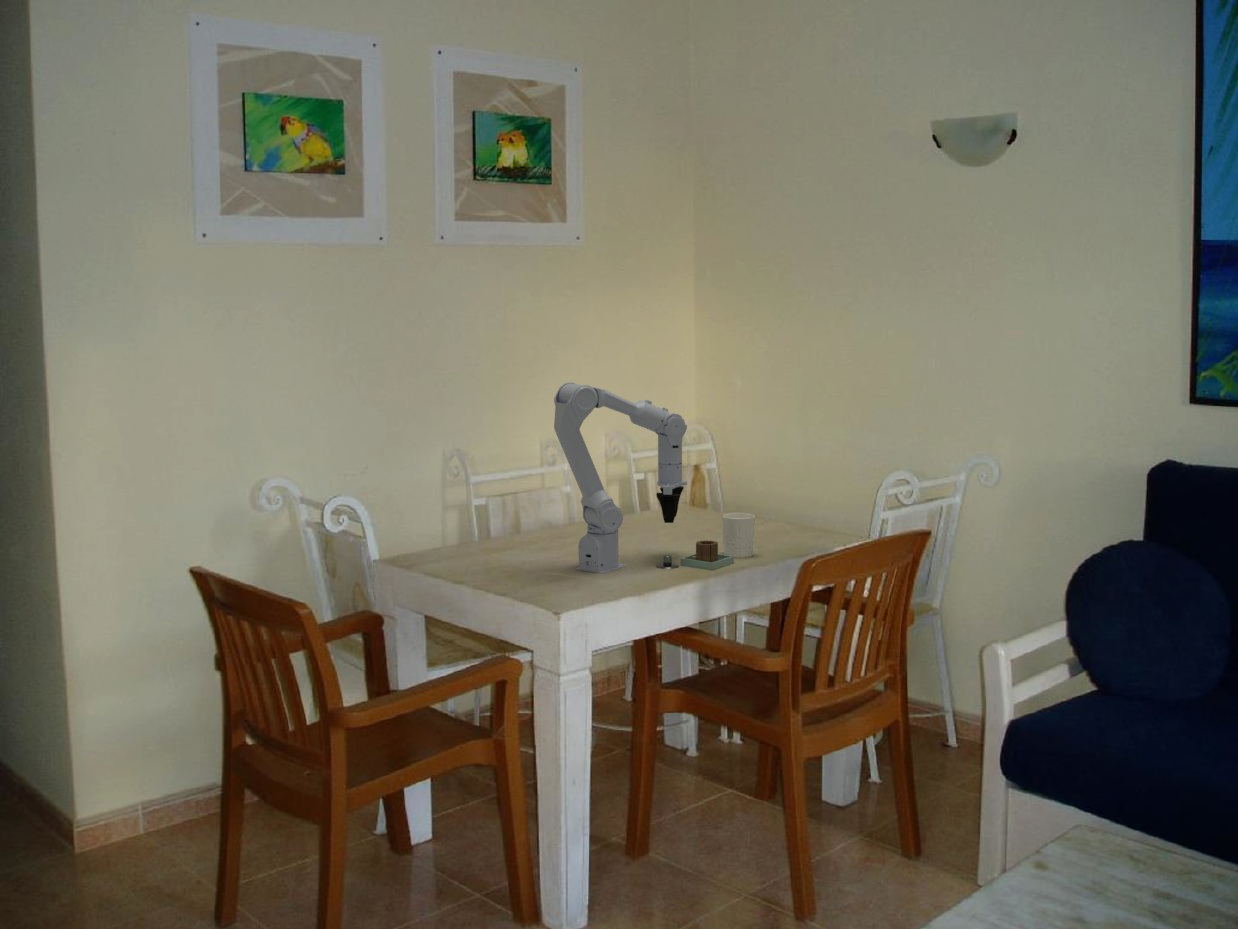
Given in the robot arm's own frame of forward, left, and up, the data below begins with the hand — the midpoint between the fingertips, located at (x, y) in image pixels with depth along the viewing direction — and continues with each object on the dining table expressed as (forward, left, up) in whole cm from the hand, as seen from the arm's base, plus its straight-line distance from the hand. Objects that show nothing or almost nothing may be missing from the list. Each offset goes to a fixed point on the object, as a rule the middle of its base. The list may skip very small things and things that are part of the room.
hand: (670, 519), depth 306 cm
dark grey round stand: (-7, -4, -10) cm, 13 cm away
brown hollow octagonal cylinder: (0, -11, -9) cm, 14 cm away
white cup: (+13, -11, -10) cm, 20 cm away
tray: (0, -11, -10) cm, 14 cm away
